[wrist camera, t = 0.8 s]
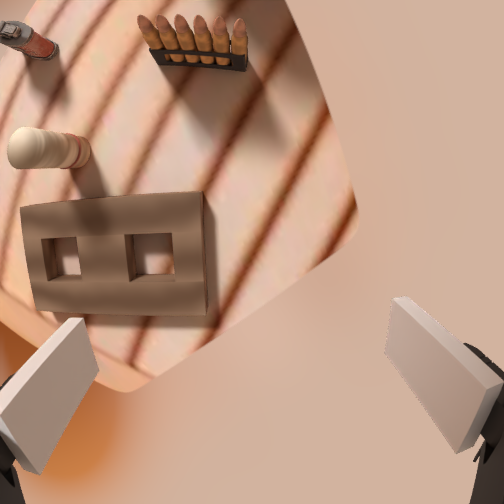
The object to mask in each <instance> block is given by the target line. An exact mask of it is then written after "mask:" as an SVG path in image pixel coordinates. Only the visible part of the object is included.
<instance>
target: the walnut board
mask: <svg viewBox="0 0 504 504" xmlns="http://www.w3.org/2000/svg"><path fill="white" fill-rule="evenodd" d="M20 216H21V226H22V234H23V242H24V249H25V255H26V262H27V268H28V273H29V278H30V283H31V288H32V293H33V298H34V302H35V306H36V310H37V311H50V312H66V313H85V314H108V315H147V316H206V313H207V309H208V296H207V280H206V263H205V243H204V220H203V191H191V192H170V193H153V194H138V195H124V196H112V197H100V198H89V199H79V200H69V201H60V202H51V203H43V204H35V205H29V206H24V207H20ZM148 233H172V243H173V257H174V269H175V274H137V273H136V264H135V254H134V244H133V234H148ZM62 237H76V239H77V247H78V255H79V262H80V269H81V275H58V269H57V263H56V256H55V249H54V242H53V238H62Z"/></svg>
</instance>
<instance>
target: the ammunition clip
mask: <svg viewBox="0 0 504 504" xmlns="http://www.w3.org/2000/svg"><path fill="white" fill-rule="evenodd" d="M137 22H138V25H139V28H140V30H141V32H142V34H143V37H144V39H145V41H146V42H147V44H148V45H149V47H150V48H149V51H150V53H151V54H152V56H153V58H154V59H155V61H156V63H157V64H158V65H176V66H193V67H206V68H217V69H226V70H235V71H243V72H245V71H246V67H247V62H248V48H247V46H248V37H247V32H246V24H245V22H244V20H243V19H241V18H239V19H237V20H236V22H235V24H234V27H233V35H232V37H231V40H230V38H229V34H228V32H227V28H226V23H225V21H224V19H223V18H222V17H220V16H218V17H216V19H215V21H214V24H213V38H212V37H211V33H210V31H209V30H208V27H207V24H206V22H205V20H204V19H203V17H202V16H200V15H196V16H195V18H194V32H195V34H193V31H192V30H191V29H190V27H189V25H188V23H187V21H186V20H185V18H184V17H183V16H181V15H179V14H177V15H176V16H175V19H174V24H175V28H176V31H175V30H174V29H173V28H172V26H171V25H170V24H169V22H168V20H167V19H166V18H165V17H164V16H162V15H160V14H157V16H156V26H157V28H158V29H156V28H155V27H154V26H153V24H152V23H151V22H150V20H149V19H148V18H146V17H145V16H143V15H138V17H137ZM176 32H177V33H176ZM213 45H214V47H213ZM230 45H231V53H230ZM151 49H152V50H151Z"/></svg>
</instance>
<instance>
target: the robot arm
mask: <svg viewBox="0 0 504 504" xmlns="http://www.w3.org/2000/svg"><path fill="white" fill-rule="evenodd" d="M385 355H386V356H387V357H388V359H389V360H390V361H391V363H392V364H393V365H394V367H395V368H396V369H397V371H398V372H399V373H400V375H401V376H402V378H403V379H404V380H405V382H406V383H407V385H408V386H409V387H410V389H411V390H412V391H413V393H414V394H415V395H416V397H417V398H418V400H419V401H420V403H421V404H422V405H423V407H424V408H425V410H426V411H427V412H428V414H429V415H430V417H431V418H432V420H433V421H434V423H435V424H436V425H437V427H438V428H439V430H440V431H441V433H442V434H443V436H444V437H445V439H446V440H447V442H448V443H449V444H450V446H451V447H452V449H453V450H454V452H455V453H456V454H457V453H460V452H462V451H464V450H466V449H468V448H470V447H473V446H474V444H475V442H476V441H477V439H478V437H479V435H480V434H481V435H482V436H483V437H484V439H485V441H484V442H483V444H482V446H481V448H480V449H479V451H478V453H477V454H476V456H475V458H474V460H473V462H476V460H477V459H478V457H479V456H480V458H479V464H478V470H477V474H476V479H475V483H474V488H473V492H472V496H471V500H470V503H469V504H504V372H503V371H502V370H501V369H500V368H499V367H498V366H497V365H496V364H495V363H492V361H491V360H490V359H489V358H488V357H485V355H484V354H483V353H482V352H481V351H480V350H479V349H477V348H475V347H474V346H471V345H469V344H467V343H462V342H460V341H459V340H458V339H457V338H456V337H455V336H454V335H452V334H451V333H450V332H449V331H448V330H447V329H445V328H444V327H443V326H442V325H441V324H440V323H438V322H437V321H436V320H435V319H434V318H433V317H431V316H430V315H429V314H428V313H426V312H425V311H424V310H423V309H422V308H421V307H419V306H418V305H417V304H416V303H415V302H413V301H412V300H411V299H410V298H408V297H398V298H392V302H391V311H390V319H389V326H388V334H387V341H386V347H385ZM98 372H99V368H98V365H97V362H96V359H95V356H94V352H93V349H92V346H91V343H90V339H89V336H88V332H87V329H86V325H85V322H84V318H69V319H68V320H67V321H66V322H65V323H64V324H63V325H62V326H61V327H60V328H59V329H58V330H57V331H56V332H55V333H54V334H53V335H52V336H51V337H50V338H49V339H48V340H47V341H46V342H45V343H44V344H43V345H42V346H41V347H40V348H39V349H38V350H37V351H36V352H35V353H34V354H33V355H32V357H31V358H30V359H29V360H28V361H27V362H26V363H25V364H24V365H23V366H22V367H21V368H20V369H19V370H18V371H17V372H16V373H14V374H13V375H11V376H10V377H9V378H8V379H7V380H6V381H5V382H4V383H3V384H2V386H1V387H0V504H25V500H24V497H23V494H22V490H21V487H20V483H19V479H18V475H17V471H16V469H15V467H14V466H13V465H12V464H13V462H14V460H15V459H16V460H17V461H18V462H19V464H20V465H21V467H22V468H23V469H24V470H26V471H29V472H32V473H35V474H38V475H41V473H42V471H43V469H44V467H45V465H46V463H47V461H48V460H49V458H50V456H51V454H52V452H53V450H54V448H55V446H56V445H57V443H58V441H59V439H60V437H61V435H62V434H63V432H64V430H65V428H66V426H67V425H68V423H69V421H70V419H71V418H72V416H73V414H74V412H75V411H76V409H77V407H78V406H79V404H80V402H81V400H82V399H83V397H84V395H85V394H86V392H87V390H88V389H89V387H90V385H91V384H92V382H93V380H94V379H95V377H96V375H97V374H98Z"/></svg>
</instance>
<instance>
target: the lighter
mask: <svg viewBox="0 0 504 504" xmlns="http://www.w3.org/2000/svg"><path fill="white" fill-rule="evenodd" d="M0 43H2V44H4V45H6V46H8V47H11V48H13V49H15V50H17V51H21V52H22V53H24V54H25V55H27V56H29V57H31V58H34V59H38V60H51V59H52V58H54V57H55V55H56V54H57V52H58V48H59V47H58V45H57V44H56V43H54V42H53V41H51V40H50V39H48V38H45V37H43V36H41V35H39V34H38V33H36V32H34V30H33V29H32V28H31V27H29V26H28V25H26V24H24V23H22V22H19V21H6V22H4V21H1V22H0Z"/></svg>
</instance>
